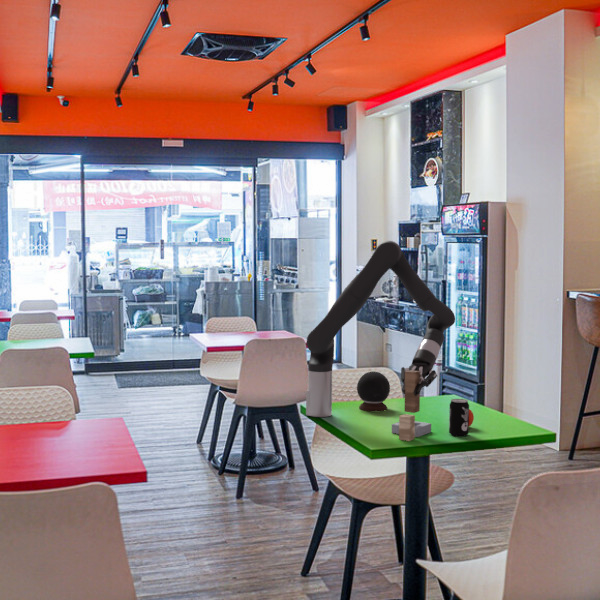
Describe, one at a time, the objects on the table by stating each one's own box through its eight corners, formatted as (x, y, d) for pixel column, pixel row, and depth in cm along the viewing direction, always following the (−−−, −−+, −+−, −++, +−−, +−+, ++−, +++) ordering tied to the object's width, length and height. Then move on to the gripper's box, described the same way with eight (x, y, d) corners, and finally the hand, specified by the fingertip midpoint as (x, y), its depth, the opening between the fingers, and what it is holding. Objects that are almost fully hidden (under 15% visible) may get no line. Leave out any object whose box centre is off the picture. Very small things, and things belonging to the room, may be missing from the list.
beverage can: (457, 437, 269) (457, 402, 268) (445, 433, 275) (445, 399, 274) (472, 435, 272) (473, 401, 271) (460, 431, 278) (460, 397, 277)
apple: (476, 430, 281) (476, 407, 280) (453, 430, 280) (454, 407, 280) (469, 425, 289) (470, 403, 288) (447, 425, 288) (448, 403, 288)
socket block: (417, 437, 269) (417, 428, 269) (391, 432, 275) (391, 424, 275) (431, 432, 277) (431, 423, 277) (405, 428, 283) (405, 419, 283)
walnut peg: (414, 412, 273) (414, 372, 272) (404, 411, 275) (405, 371, 274) (419, 411, 276) (420, 371, 275) (409, 409, 278) (410, 370, 277)
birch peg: (408, 441, 263) (409, 417, 263) (398, 439, 265) (399, 415, 265) (414, 439, 266) (414, 415, 266) (404, 437, 268) (404, 414, 268)
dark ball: (385, 405, 325) (385, 369, 324) (393, 411, 312) (394, 373, 311) (353, 405, 323) (354, 369, 322) (360, 412, 310) (361, 374, 309)
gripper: (405, 346, 284) (387, 385, 275) (441, 349, 276) (424, 389, 267) (412, 360, 289) (395, 397, 280) (448, 363, 280) (431, 402, 271)
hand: (409, 393), depth 273 cm, fingers closed on walnut peg, 3 cm apart
